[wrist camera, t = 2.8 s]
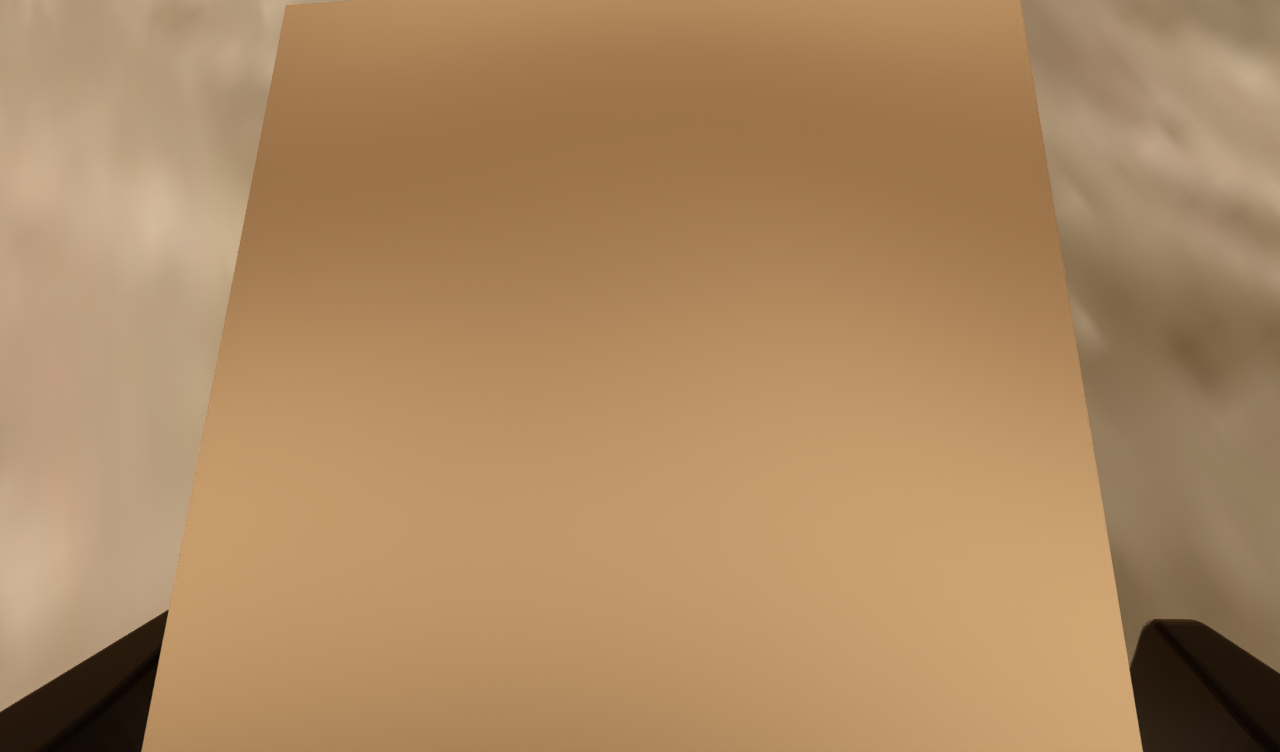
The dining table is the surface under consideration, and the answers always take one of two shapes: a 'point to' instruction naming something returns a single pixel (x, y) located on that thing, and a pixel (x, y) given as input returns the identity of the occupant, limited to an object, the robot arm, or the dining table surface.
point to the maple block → (647, 395)
